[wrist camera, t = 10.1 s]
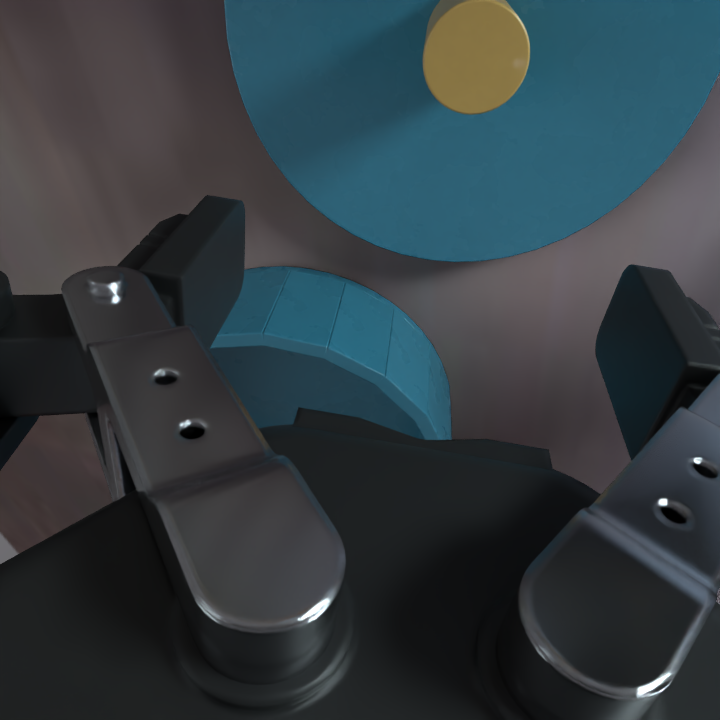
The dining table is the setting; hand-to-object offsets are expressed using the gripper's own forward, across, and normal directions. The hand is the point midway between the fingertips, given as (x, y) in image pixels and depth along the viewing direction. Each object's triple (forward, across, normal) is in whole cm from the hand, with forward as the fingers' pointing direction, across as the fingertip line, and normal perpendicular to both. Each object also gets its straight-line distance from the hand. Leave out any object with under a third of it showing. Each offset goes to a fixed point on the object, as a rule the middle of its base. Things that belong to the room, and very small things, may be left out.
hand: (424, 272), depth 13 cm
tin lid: (+11, 0, -3) cm, 12 cm away
